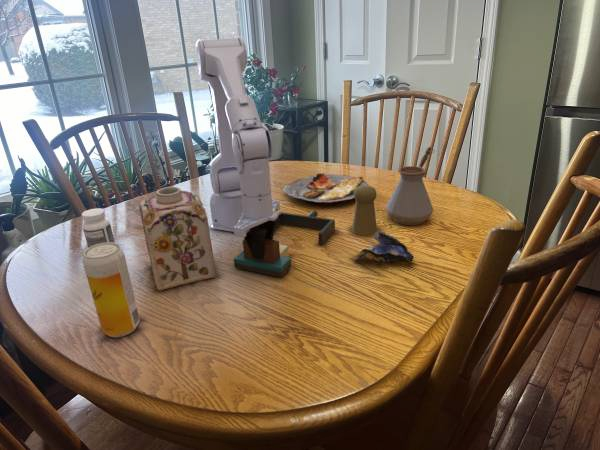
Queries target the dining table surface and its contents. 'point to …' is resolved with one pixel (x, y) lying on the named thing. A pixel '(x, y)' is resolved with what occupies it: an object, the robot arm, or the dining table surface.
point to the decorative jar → (177, 237)
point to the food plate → (324, 188)
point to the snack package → (385, 249)
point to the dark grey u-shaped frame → (309, 223)
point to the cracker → (284, 250)
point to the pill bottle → (96, 227)
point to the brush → (264, 259)
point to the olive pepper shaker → (364, 211)
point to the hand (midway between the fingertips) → (261, 254)
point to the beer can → (111, 288)
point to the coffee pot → (411, 196)
